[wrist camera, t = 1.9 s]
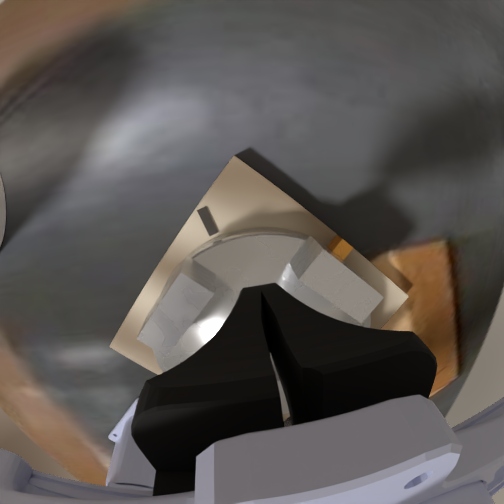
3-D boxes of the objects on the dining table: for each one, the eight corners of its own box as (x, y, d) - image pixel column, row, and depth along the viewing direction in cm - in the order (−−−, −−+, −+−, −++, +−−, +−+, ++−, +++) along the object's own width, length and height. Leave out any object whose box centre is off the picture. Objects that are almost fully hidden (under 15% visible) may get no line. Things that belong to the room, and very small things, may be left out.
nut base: (275, 419, 26) (277, 427, 25) (113, 339, 22) (109, 347, 21) (402, 291, 23) (409, 297, 22) (233, 155, 18) (234, 155, 17)
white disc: (275, 419, 25) (283, 457, 20) (124, 346, 21) (107, 385, 17) (403, 291, 21) (434, 320, 17) (247, 165, 17) (254, 170, 13)
